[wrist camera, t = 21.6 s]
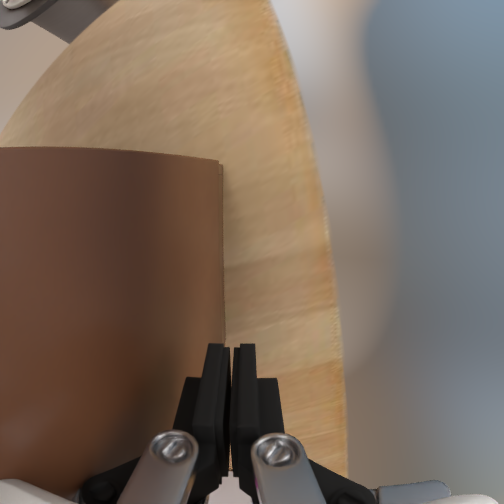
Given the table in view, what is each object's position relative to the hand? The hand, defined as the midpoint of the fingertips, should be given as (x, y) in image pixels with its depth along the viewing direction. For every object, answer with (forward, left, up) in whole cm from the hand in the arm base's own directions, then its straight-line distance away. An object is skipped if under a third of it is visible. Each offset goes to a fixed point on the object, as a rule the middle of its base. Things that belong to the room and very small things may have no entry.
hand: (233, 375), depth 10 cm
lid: (-1, -4, +2) cm, 4 cm away
